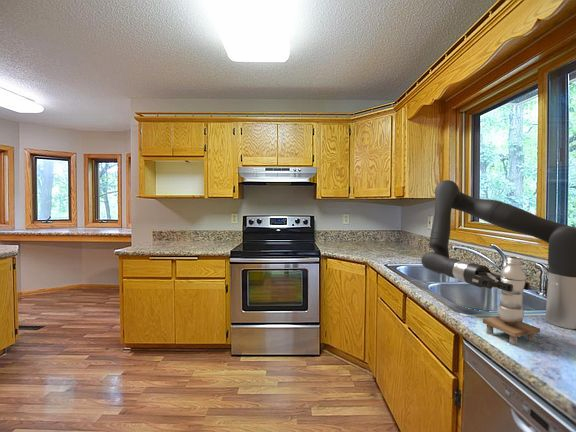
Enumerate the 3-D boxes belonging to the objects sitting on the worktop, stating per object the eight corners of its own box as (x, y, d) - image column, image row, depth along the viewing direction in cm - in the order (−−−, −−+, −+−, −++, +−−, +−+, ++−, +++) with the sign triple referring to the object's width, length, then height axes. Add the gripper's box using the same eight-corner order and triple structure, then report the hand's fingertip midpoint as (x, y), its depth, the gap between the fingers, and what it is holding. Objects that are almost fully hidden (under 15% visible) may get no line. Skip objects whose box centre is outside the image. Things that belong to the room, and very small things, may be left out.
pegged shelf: (505, 328, 96) (506, 315, 96) (539, 342, 86) (540, 328, 86) (482, 331, 93) (482, 319, 93) (514, 347, 84) (515, 332, 83)
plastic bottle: (515, 317, 92) (519, 255, 91) (528, 327, 86) (533, 260, 84) (492, 316, 94) (496, 255, 92) (504, 325, 87) (508, 259, 85)
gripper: (455, 263, 100) (503, 276, 84) (487, 261, 104) (538, 273, 88) (454, 285, 101) (501, 302, 85) (485, 282, 105) (537, 297, 89)
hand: (520, 287), depth 86 cm, fingers open, 6 cm apart
